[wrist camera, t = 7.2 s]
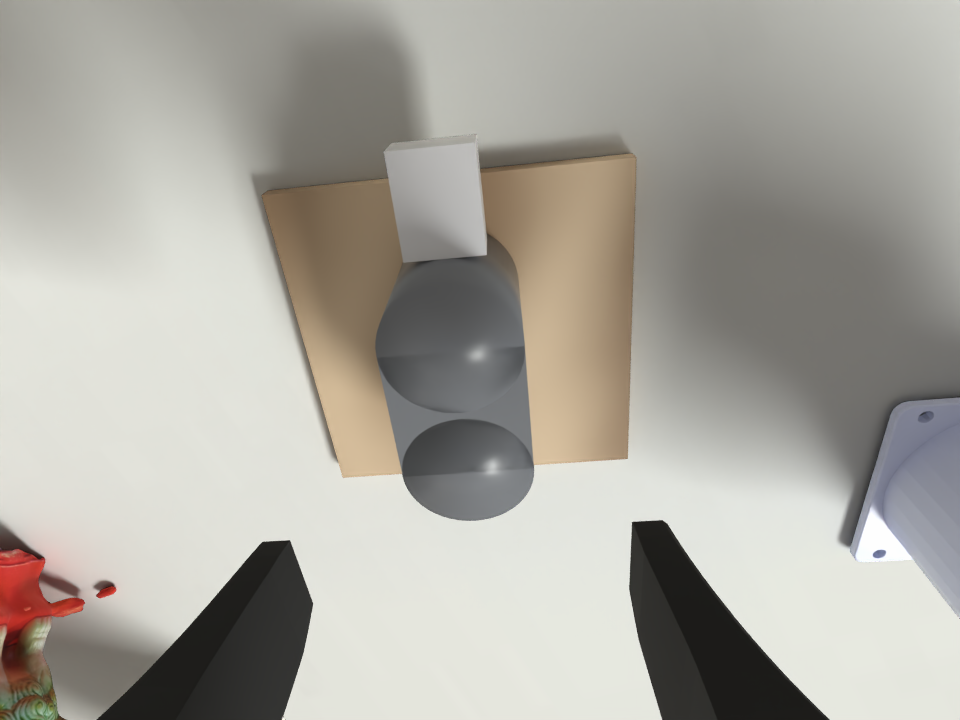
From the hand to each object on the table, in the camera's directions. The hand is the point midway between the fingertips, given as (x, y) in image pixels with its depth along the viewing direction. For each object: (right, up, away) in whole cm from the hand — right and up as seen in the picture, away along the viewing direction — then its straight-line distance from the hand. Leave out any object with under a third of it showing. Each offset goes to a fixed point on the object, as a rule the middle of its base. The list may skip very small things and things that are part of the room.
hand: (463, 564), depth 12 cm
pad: (0, +5, +8) cm, 9 cm away
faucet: (0, +6, +7) cm, 9 cm away
